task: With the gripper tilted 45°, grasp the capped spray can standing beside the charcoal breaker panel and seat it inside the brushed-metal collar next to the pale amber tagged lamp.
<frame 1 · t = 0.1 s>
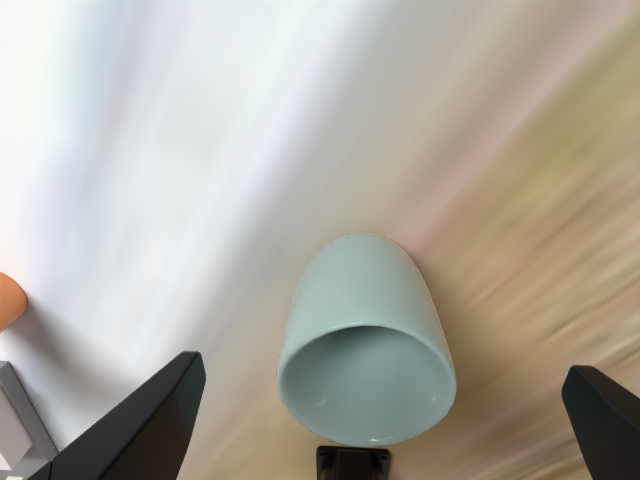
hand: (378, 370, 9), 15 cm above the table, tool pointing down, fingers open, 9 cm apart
cup: (359, 266, 25), on the table
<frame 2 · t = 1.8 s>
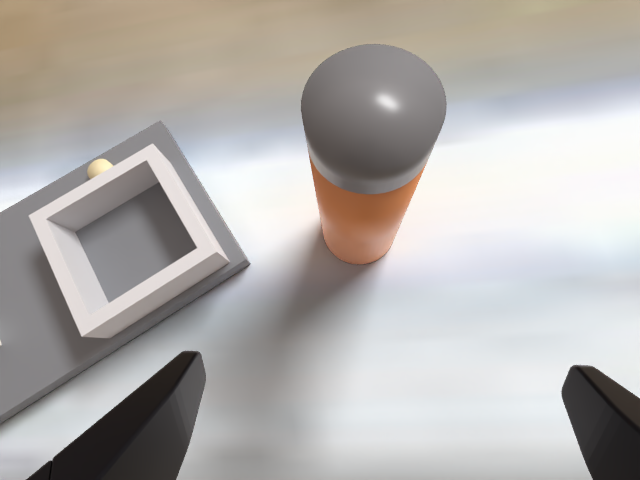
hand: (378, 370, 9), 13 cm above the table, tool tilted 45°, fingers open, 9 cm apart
capped spray can: (358, 229, 25), on the table
breaker panel: (46, 290, 25), on the table
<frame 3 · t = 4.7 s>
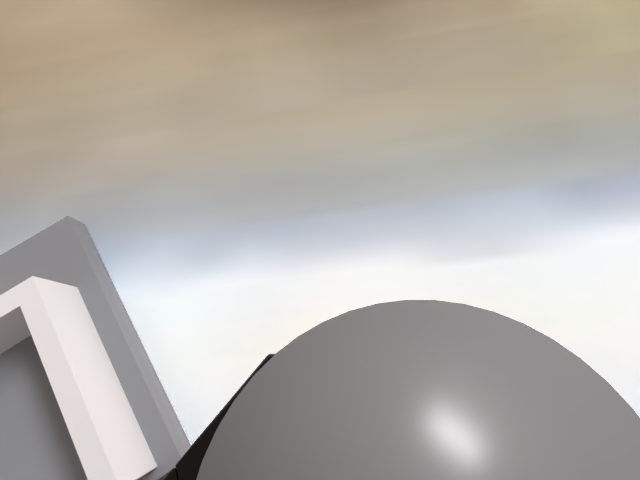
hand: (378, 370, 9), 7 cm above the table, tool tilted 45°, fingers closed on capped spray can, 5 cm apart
capped spray can: (364, 398, 16), on the table, touching gripper
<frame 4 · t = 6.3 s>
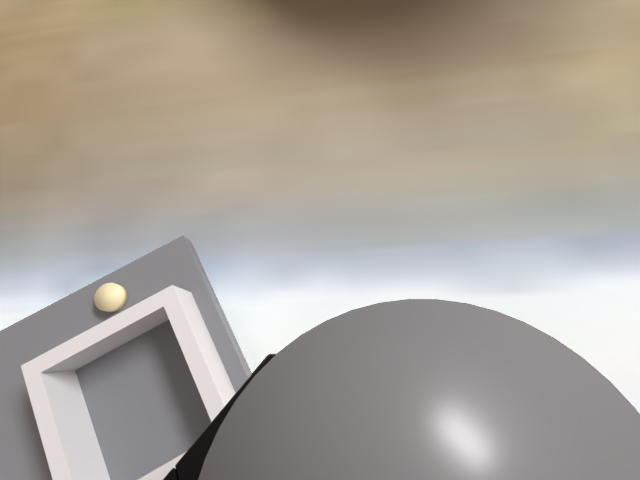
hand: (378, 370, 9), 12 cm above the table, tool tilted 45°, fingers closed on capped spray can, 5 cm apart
capped spray can: (364, 398, 16), point 5 cm above the table, touching gripper
breaker panel: (37, 432, 21), on the table
when the fingers open (9 cm above the table, at t = 8.3 s): capped spray can stays where it is, resting on breaker panel.
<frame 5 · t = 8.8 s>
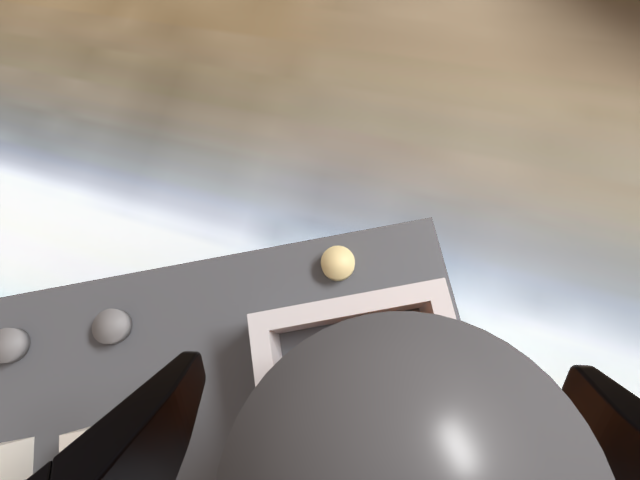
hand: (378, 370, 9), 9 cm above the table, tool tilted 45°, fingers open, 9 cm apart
capped spray can: (363, 397, 17), point 1 cm above the table, touching breaker panel
breaker panel: (212, 386, 18), on the table
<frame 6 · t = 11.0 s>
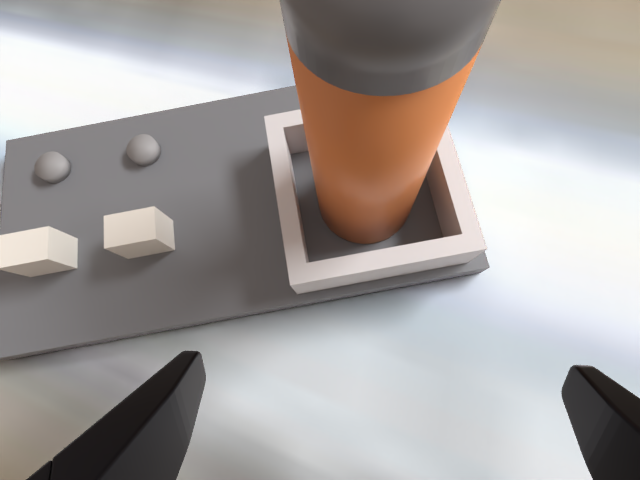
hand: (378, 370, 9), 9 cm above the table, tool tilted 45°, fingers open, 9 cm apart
capped spray can: (364, 200, 19), point 1 cm above the table, touching breaker panel
breaker panel: (231, 206, 21), on the table
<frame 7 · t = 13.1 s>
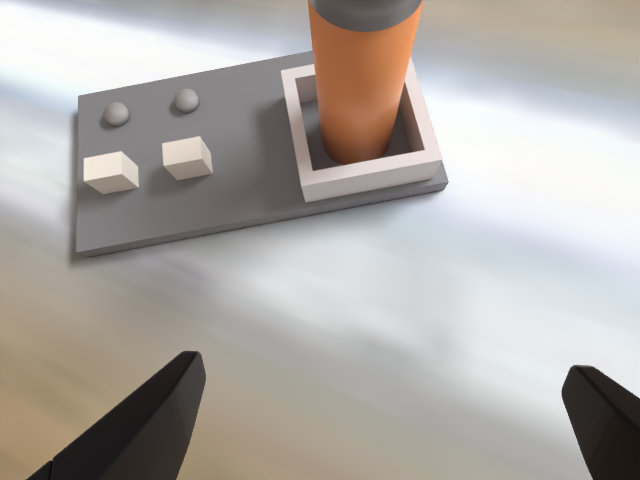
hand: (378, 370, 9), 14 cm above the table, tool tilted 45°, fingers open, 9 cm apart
capped spray can: (355, 135, 25), point 1 cm above the table, touching breaker panel
breaker panel: (254, 145, 27), on the table
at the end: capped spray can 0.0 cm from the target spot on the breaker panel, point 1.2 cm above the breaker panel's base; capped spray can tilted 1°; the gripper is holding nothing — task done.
